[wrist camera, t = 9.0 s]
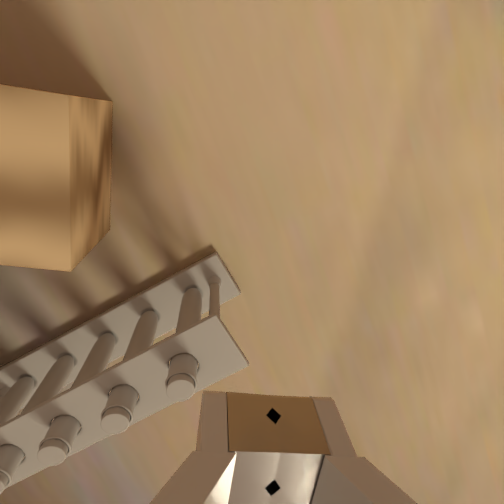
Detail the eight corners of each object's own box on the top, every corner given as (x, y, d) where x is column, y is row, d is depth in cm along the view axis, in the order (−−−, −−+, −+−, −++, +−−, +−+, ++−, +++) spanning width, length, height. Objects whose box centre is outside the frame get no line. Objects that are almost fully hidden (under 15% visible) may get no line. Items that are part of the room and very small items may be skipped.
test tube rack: (15, 408, 36) (-89, 560, 24) (-18, 376, 35) (-147, 521, 22) (240, 290, 34) (254, 389, 22) (216, 250, 32) (216, 333, 20)
